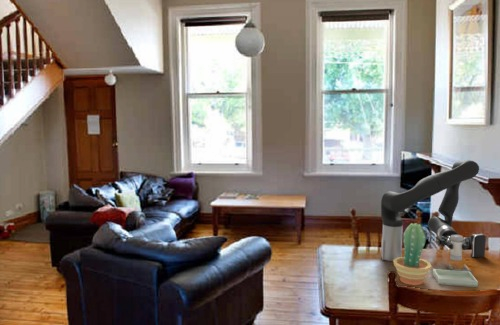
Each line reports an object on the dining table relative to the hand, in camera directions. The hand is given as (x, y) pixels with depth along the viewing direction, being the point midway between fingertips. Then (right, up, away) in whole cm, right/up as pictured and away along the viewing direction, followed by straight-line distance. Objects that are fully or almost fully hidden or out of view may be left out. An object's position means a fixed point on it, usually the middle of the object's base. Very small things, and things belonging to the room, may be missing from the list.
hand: (458, 247), depth 170 cm
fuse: (+1, -6, +3) cm, 7 cm away
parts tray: (0, -15, +4) cm, 16 cm away
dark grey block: (+27, -12, +34) cm, 45 cm away
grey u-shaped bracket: (+8, -14, +16) cm, 23 cm away
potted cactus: (-18, -15, +4) cm, 24 cm away
